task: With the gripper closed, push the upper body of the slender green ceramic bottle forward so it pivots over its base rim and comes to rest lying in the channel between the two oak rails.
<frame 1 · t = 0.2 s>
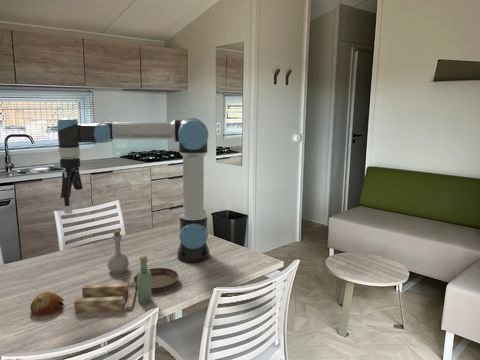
hand: (73, 208, 168), 28 cm above the table, tool pointing down, fingers open, 13 cm apart
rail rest: (102, 302, 148), on the table
potion bottle: (118, 271, 176), on the table
bottle: (145, 300, 150), on the table
bread roll: (48, 309, 143), on the table
plant saucer: (156, 284, 164), on the table
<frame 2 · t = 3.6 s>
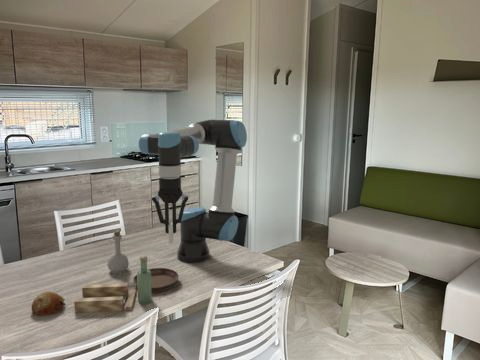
hand: (171, 241, 147), 23 cm above the table, tool pointing down, fingers closed
nothing on the table moved.
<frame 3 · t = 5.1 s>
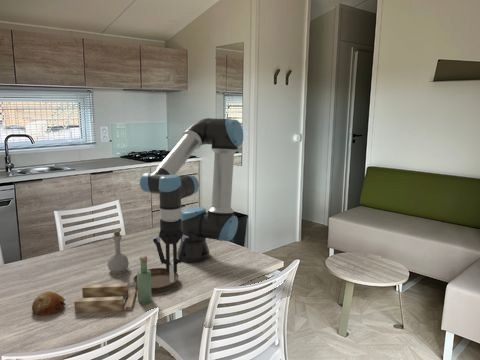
hand: (171, 280, 150), 7 cm above the table, tool pointing down, fingers closed
nothing on the table moved.
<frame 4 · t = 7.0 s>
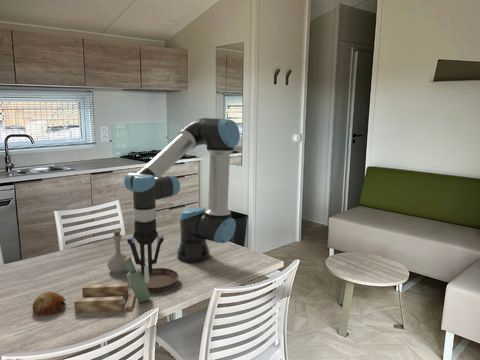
hand: (147, 281, 149), 8 cm above the table, tool pointing down, fingers closed
bottle: (144, 298, 150), point 1 cm above the table, tilted 19°
everything else where it was.
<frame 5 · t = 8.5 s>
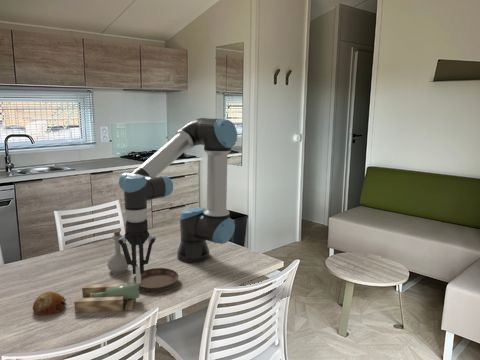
hand: (138, 281, 148), 7 cm above the table, tool pointing down, fingers closed
bottle: (138, 290, 149), point 4 cm above the table, tilted 95°, touching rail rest
everything else where it was.
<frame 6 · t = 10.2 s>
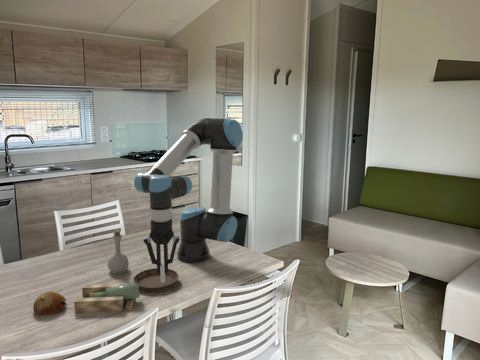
hand: (163, 280, 149), 7 cm above the table, tool pointing down, fingers closed
nothing on the table moved.
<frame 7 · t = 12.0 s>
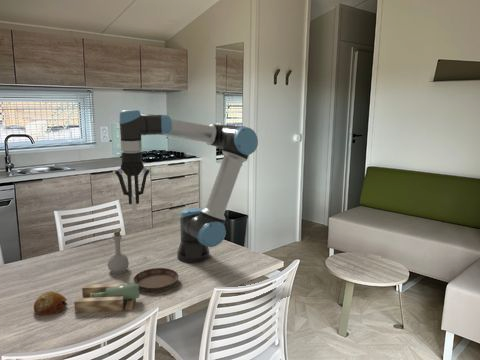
hand: (134, 211, 158), 30 cm above the table, tool pointing down, fingers closed
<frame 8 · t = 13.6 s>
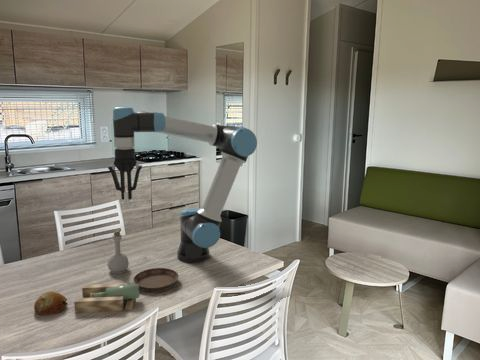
hand: (127, 207, 162), 30 cm above the table, tool pointing down, fingers closed
at the end: bottle tilted 95°; bottle inside the target area (4.8 cm from its centre), point 4.0 cm above the table; the gripper is holding nothing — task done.
